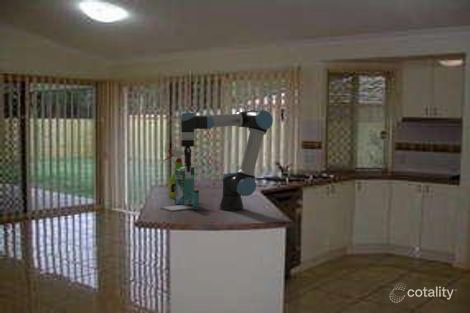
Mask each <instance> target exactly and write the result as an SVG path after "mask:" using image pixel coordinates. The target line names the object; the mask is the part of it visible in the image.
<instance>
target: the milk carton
mask: <svg viewBox="0 0 470 313" xmlns="http://www.w3.org/2000/svg"><path fill="white" fill-rule="evenodd" d="M174 173H175V199H174V204H176V205H178V206H179V205H185V206H189V205H188V204H191V205H193V190H195V166H191V178H186V175H185V165H183V167H180V168H179V169H177V170H175V169H174Z"/></svg>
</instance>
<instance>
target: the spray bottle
mask: <svg viewBox="0 0 470 313" xmlns="http://www.w3.org/2000/svg"><path fill="white" fill-rule="evenodd" d="M167 152H168V153H170V156H168V157H166V158H165V159H163V162H165V161H167V160H169V159H171V158H173V157H175V158H176V159H175V162H174V171H175V170H177V169H179V168H180V167H184V165H183V160H182V159H183V158H182V156H185V154H184V153H183V151H181V150H178V149H174V148H169V149H168V150H167ZM168 198H170V199H173V200H175V172H173V174H172V175H171V176H170V178H169V180H168Z"/></svg>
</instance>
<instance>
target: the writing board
mask: <svg viewBox="0 0 470 313" xmlns="http://www.w3.org/2000/svg"><path fill="white" fill-rule="evenodd" d="M159 209H161V210H163V209H164V210H163V211H167V210H168V212H171V211H173V212H179V210H181V211H187V210H186V209H190V210H193V206H190V205H179V204H178V205H172V206H171V205H170V206H162V207H159Z"/></svg>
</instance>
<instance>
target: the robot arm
mask: <svg viewBox="0 0 470 313" xmlns="http://www.w3.org/2000/svg"><path fill="white" fill-rule="evenodd" d="M273 119H274V118H273V116H272V114H271V113H270V112H269V111H268V110H265V109H257V110H256V109H253V110H252V109H251V110H245V111H241V112H240V111H239V112H236V113H228V114H227V113H226V114H206V115H195V113H194V112H182V113H181V116H180V129H181V130H180V134H179V135H180V136H181V138H180V139H181V140H180V144H181V145H180V146H181V147H183V148H184V150H183V152H184V154H185V155H184V166H185V175H186V178H191V167H192V148H191V147H194V146H195V130H211V129H213V128H223V127H224V128H225V127H237V128H245V129H246V128H247V129H248V131H249V134H248V138H247V142H246V146H245V150H244V154H243V158H242V162H241V165H240V169H239V170H237V172H225V173H224V174H223V175H222V176H223V177H222V197H221V201H220V203H219V209H221V210H224V211H241V210H244V204H243V200H242V197H248V196H251V195H252V194H255V192H256V189H257V183H256V175H255V170H256V164H257V161H258V158H259V154H260V149H261V146H262V142H263V138H264V136H266V135H267V132H268V129H270V128H271V127H272V126H273V123H274V120H273Z"/></svg>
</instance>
